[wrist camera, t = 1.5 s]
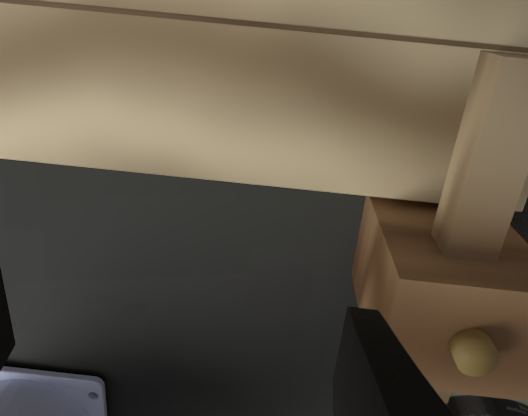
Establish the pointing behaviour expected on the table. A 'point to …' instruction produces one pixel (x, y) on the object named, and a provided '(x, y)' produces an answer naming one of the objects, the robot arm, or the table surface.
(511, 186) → the gauge
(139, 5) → the board
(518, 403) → the coffee can
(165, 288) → the table surface
